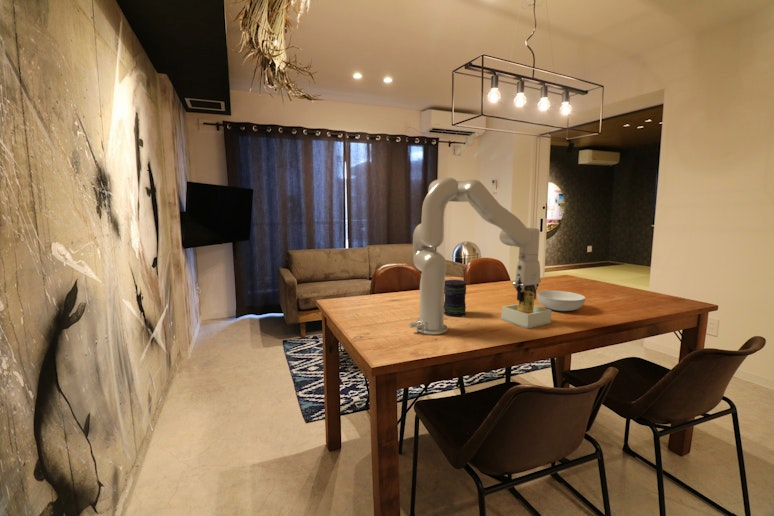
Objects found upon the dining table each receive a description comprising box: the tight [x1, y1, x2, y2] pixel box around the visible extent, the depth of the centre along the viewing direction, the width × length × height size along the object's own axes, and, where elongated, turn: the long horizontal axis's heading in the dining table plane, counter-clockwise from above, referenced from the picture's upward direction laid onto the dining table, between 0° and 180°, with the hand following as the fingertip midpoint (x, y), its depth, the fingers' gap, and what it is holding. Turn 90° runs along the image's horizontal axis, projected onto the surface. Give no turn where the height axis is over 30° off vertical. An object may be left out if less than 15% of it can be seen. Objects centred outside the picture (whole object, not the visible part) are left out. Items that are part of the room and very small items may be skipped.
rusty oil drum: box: [444, 279, 467, 318], centre depth 170 cm, size 10×10×15 cm
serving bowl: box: [536, 290, 586, 312], centre depth 178 cm, size 21×21×7 cm
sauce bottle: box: [517, 285, 535, 314], centre depth 157 cm, size 7×6×20 cm
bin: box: [500, 303, 553, 330], centre depth 158 cm, size 14×14×6 cm
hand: (526, 299), depth 157 cm, fingers closed on sauce bottle, 6 cm apart
